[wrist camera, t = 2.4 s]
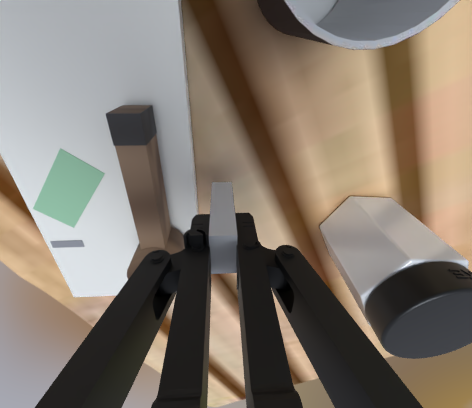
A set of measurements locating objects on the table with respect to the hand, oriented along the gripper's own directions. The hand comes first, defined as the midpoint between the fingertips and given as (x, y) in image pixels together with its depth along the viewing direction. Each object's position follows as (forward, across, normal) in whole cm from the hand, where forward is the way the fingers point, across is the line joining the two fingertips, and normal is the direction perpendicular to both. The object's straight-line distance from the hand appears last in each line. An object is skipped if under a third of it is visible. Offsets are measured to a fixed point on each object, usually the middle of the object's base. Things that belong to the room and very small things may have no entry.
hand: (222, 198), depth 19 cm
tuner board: (+5, -10, 0) cm, 11 cm away
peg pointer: (+3, -6, -1) cm, 7 cm away
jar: (+5, +15, -7) cm, 17 cm away
